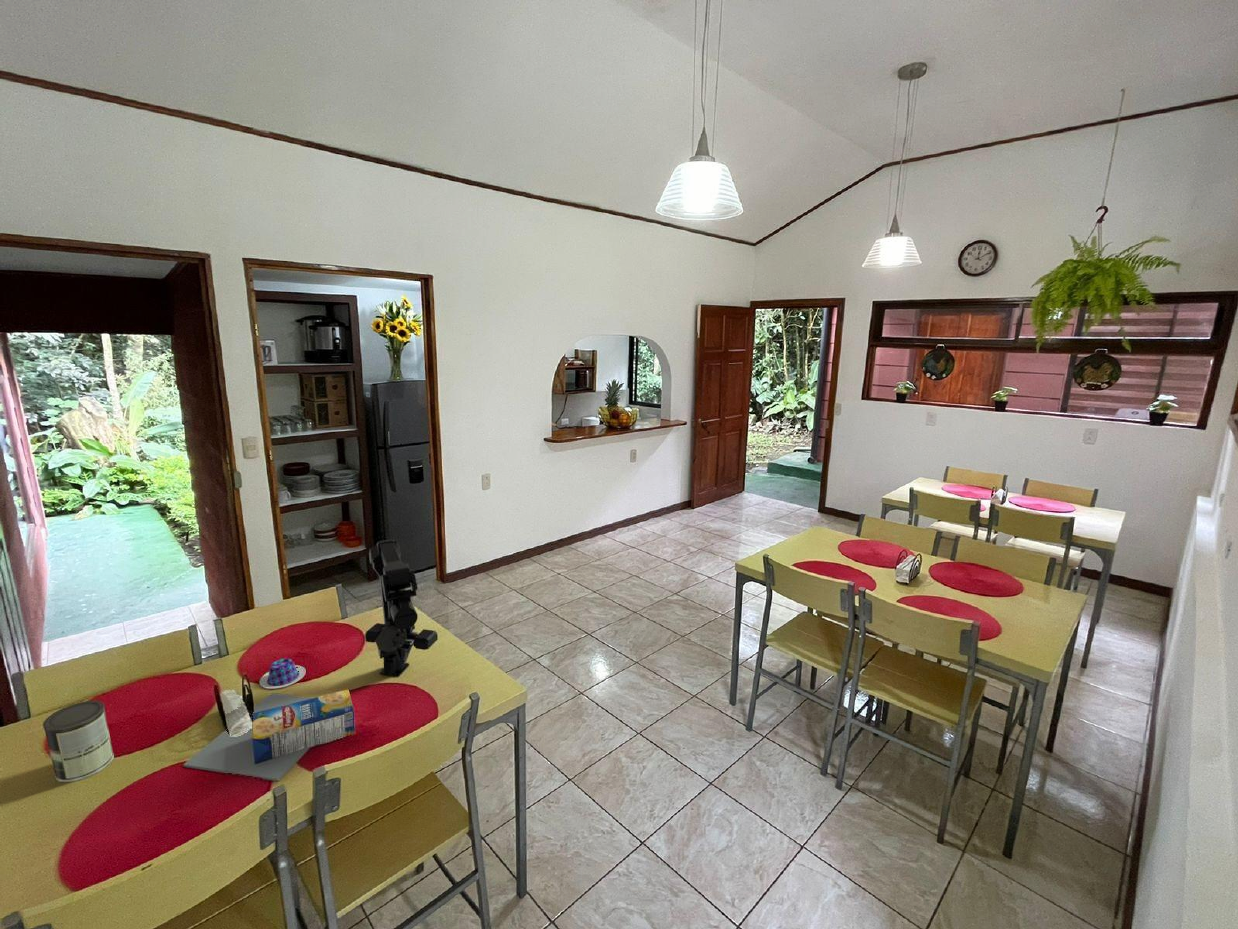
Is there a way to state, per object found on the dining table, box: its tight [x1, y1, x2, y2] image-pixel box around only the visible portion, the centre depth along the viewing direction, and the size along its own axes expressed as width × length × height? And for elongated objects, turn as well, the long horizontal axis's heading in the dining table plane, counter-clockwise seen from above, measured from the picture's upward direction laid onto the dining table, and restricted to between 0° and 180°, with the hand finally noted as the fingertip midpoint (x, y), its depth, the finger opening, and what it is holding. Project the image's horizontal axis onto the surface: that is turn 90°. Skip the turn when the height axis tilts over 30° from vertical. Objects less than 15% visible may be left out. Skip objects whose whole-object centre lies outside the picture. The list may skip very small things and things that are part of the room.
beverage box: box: [252, 689, 356, 764], centre depth 143 cm, size 7×11×22 cm
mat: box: [183, 692, 313, 782], centre depth 145 cm, size 28×25×1 cm
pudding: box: [259, 658, 307, 690], centre depth 168 cm, size 12×12×5 cm
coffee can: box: [42, 700, 115, 783], centre depth 131 cm, size 10×10×14 cm
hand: (403, 664), depth 154 cm, fingers closed
